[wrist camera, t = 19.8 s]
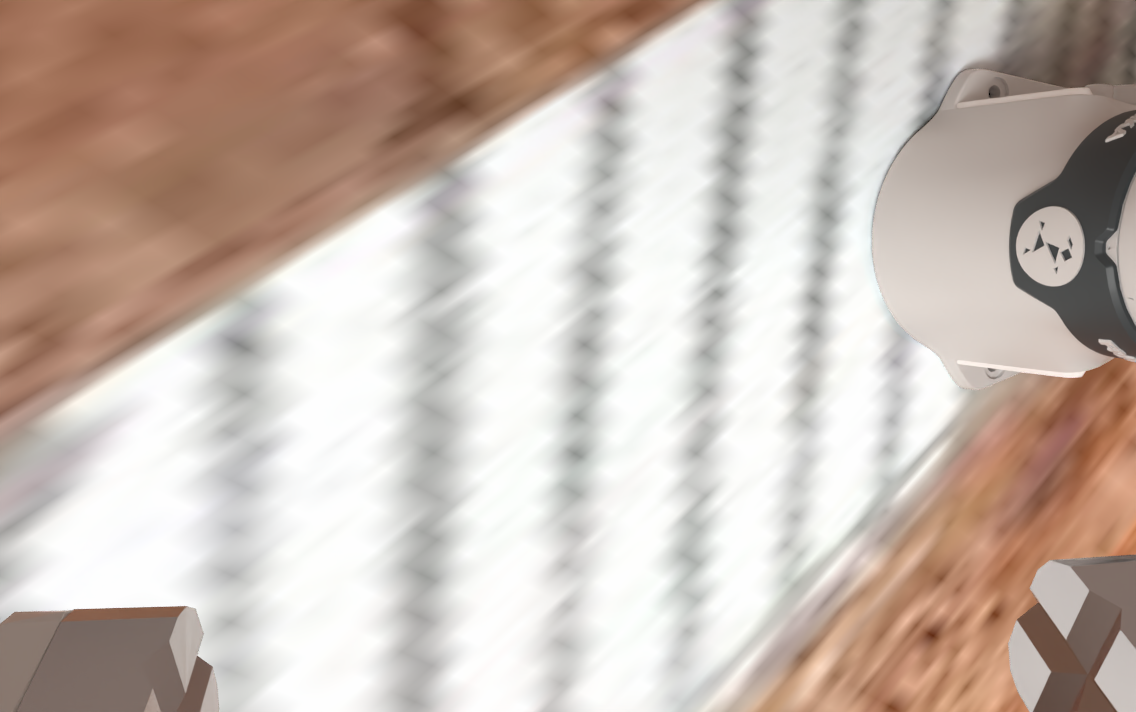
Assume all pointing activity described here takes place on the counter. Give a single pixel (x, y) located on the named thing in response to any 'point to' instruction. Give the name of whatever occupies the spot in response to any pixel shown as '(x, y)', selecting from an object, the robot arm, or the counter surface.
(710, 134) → the counter surface
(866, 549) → the counter surface
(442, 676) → the counter surface
